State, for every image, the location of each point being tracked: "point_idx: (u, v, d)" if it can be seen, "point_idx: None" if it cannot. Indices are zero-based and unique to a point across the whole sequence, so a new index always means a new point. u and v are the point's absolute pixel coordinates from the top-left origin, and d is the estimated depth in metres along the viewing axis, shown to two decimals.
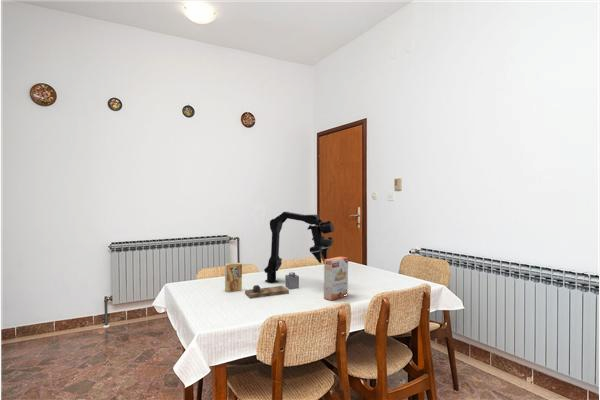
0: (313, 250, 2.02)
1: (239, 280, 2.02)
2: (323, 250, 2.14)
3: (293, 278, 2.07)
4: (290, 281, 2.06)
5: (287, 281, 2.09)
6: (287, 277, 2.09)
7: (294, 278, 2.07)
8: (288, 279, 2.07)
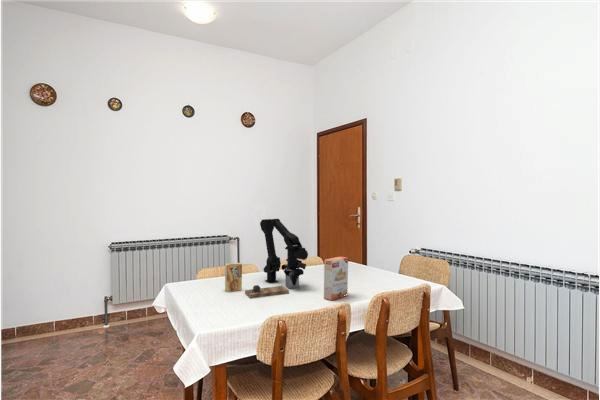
0: (298, 273, 2.01)
1: (239, 280, 2.02)
2: (289, 272, 2.13)
3: None
4: (290, 281, 2.06)
5: (287, 281, 2.09)
6: (287, 277, 2.09)
7: None
8: (288, 279, 2.07)
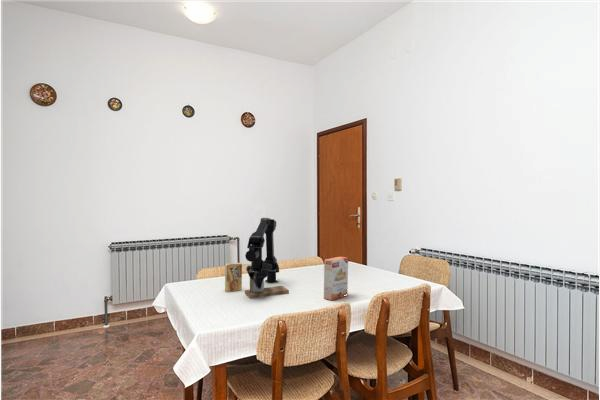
0: (261, 275, 1.85)
1: (239, 280, 2.02)
2: (253, 273, 1.98)
3: None
4: (254, 285, 1.90)
5: (251, 284, 1.93)
6: (251, 280, 1.93)
7: None
8: (252, 282, 1.92)
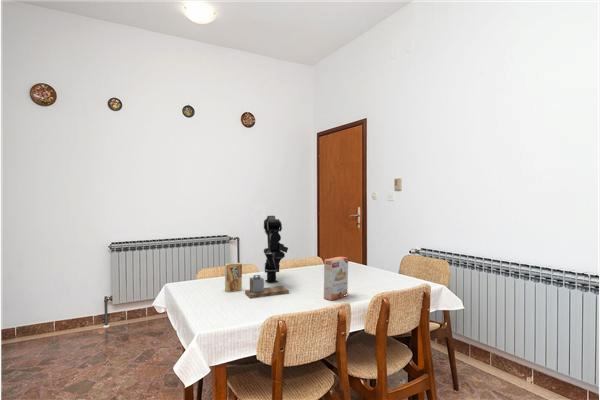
0: (279, 256, 2.00)
1: (239, 280, 2.02)
2: (270, 255, 2.13)
3: (257, 281, 1.91)
4: (254, 285, 1.90)
5: (251, 284, 1.93)
6: (251, 280, 1.93)
7: (258, 281, 1.91)
8: (252, 282, 1.92)
